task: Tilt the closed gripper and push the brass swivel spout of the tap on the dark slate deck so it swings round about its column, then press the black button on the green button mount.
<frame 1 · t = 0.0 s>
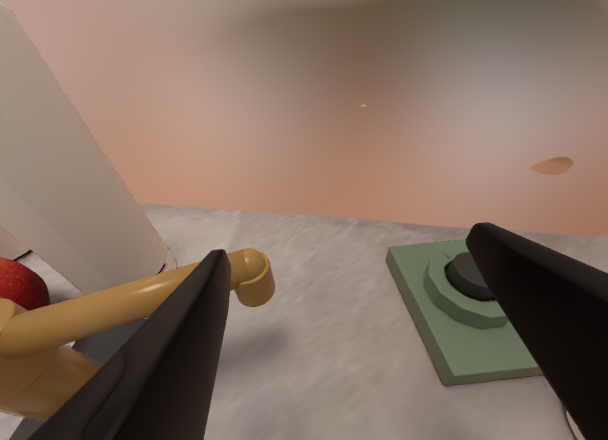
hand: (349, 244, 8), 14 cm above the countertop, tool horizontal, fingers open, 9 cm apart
spout: (125, 312, 12), point 10 cm above the countertop, hinge at 0.0°
tap base: (113, 406, 17), on the countertop
soap button: (475, 275, 18), point 4 cm above the countertop, slide at 0.1 cm
fruit: (3, 343, 21), on the countertop
green button mount: (455, 304, 21), on the countertop
bottle: (140, 279, 26), on the countertop
cup: (13, 253, 31), on the countertop
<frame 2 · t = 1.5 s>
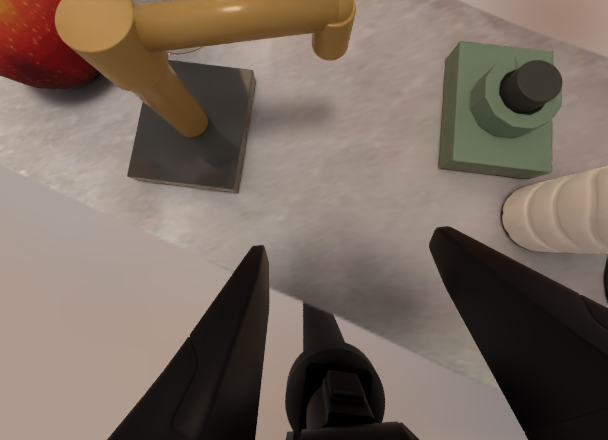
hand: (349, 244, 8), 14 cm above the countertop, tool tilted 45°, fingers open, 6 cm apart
spout: (221, 32, 13), point 10 cm above the countertop, hinge at 0.0°
tap base: (198, 129, 23), on the countertop
soap button: (529, 87, 19), point 4 cm above the countertop, slide at 0.1 cm
fruit: (78, 60, 24), on the countertop
green button mount: (485, 117, 23), on the countertop
water bottle: (530, 229, 22), on the countertop
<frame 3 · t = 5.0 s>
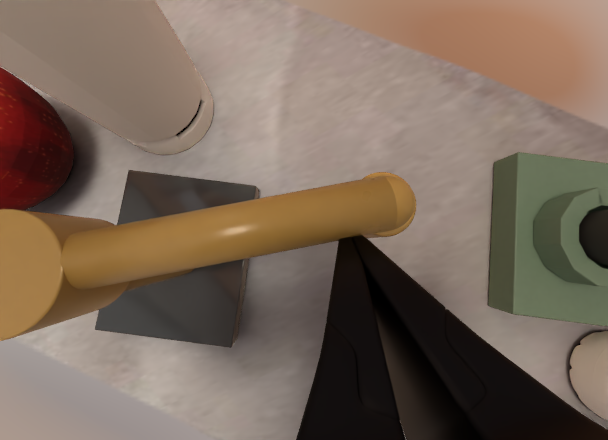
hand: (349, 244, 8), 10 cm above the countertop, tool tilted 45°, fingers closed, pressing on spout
spout: (210, 238, 9), point 10 cm above the countertop, hinge at 3.1°, touching gripper
tap base: (188, 254, 18), on the countertop
fruit: (39, 163, 19), on the countertop
green button mount: (545, 238, 19), on the countertop
bottle: (168, 111, 20), on the countertop
water bottle: (603, 386, 18), on the countertop
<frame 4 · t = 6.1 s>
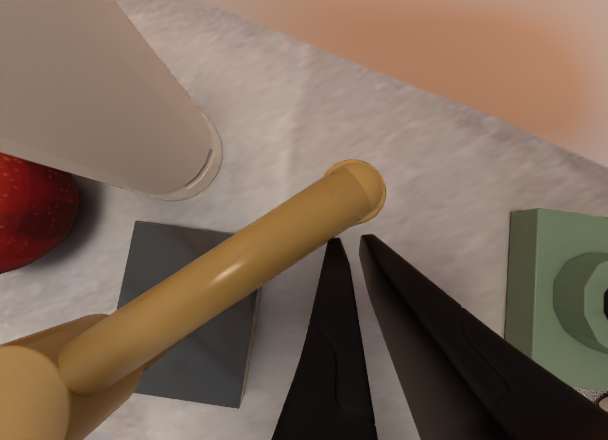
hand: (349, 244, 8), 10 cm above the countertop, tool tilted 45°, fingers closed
spout: (203, 290, 8), point 10 cm above the countertop, hinge at 26.3°, touching gripper
tap base: (195, 305, 18), on the countertop
fruit: (45, 207, 19), on the countertop
green button mount: (563, 293, 18), on the countertop
bottle: (176, 155, 19), on the countertop
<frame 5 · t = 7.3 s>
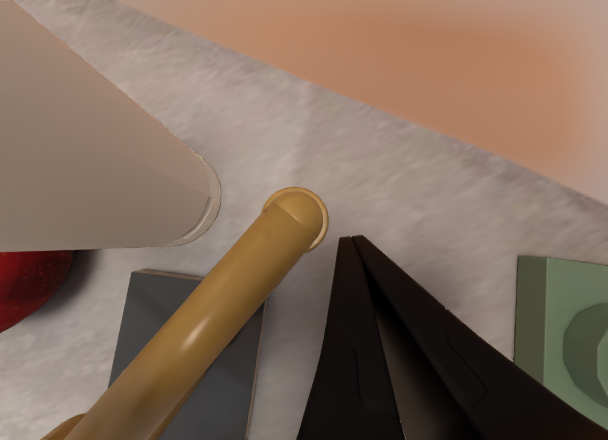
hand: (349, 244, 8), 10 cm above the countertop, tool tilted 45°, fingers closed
spout: (173, 364, 8), point 10 cm above the countertop, hinge at 42.2°
tap base: (194, 356, 17), on the countertop
fruit: (37, 253, 18), on the countertop
green button mount: (572, 340, 17), on the countertop
bottle: (173, 197, 19), on the countertop
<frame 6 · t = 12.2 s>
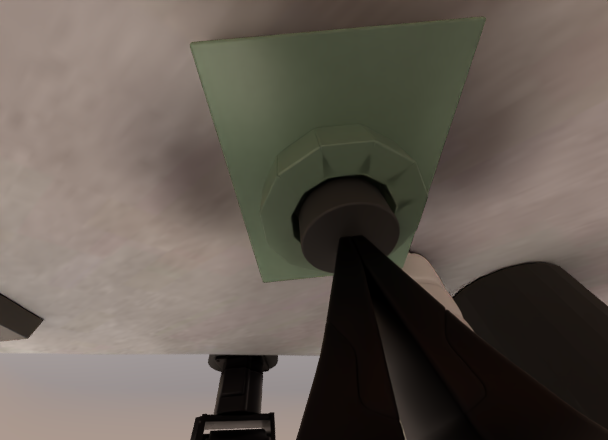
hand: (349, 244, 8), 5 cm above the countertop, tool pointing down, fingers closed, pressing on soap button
soap button: (345, 227, 9), point 4 cm above the countertop, slide at 0.0 cm, touching gripper
green button mount: (328, 175, 12), on the countertop
water bottle: (385, 282, 19), on the countertop
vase: (499, 294, 22), on the countertop
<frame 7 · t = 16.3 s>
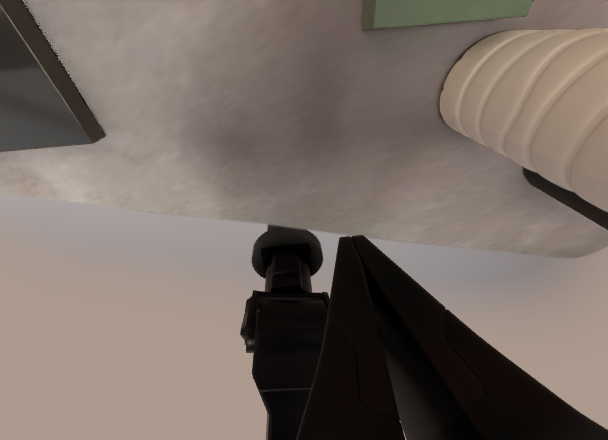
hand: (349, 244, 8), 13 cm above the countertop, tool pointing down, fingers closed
water bottle: (473, 102, 18), on the countertop
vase: (583, 138, 21), on the countertop
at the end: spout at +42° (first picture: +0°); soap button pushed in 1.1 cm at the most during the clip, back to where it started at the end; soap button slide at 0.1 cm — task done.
